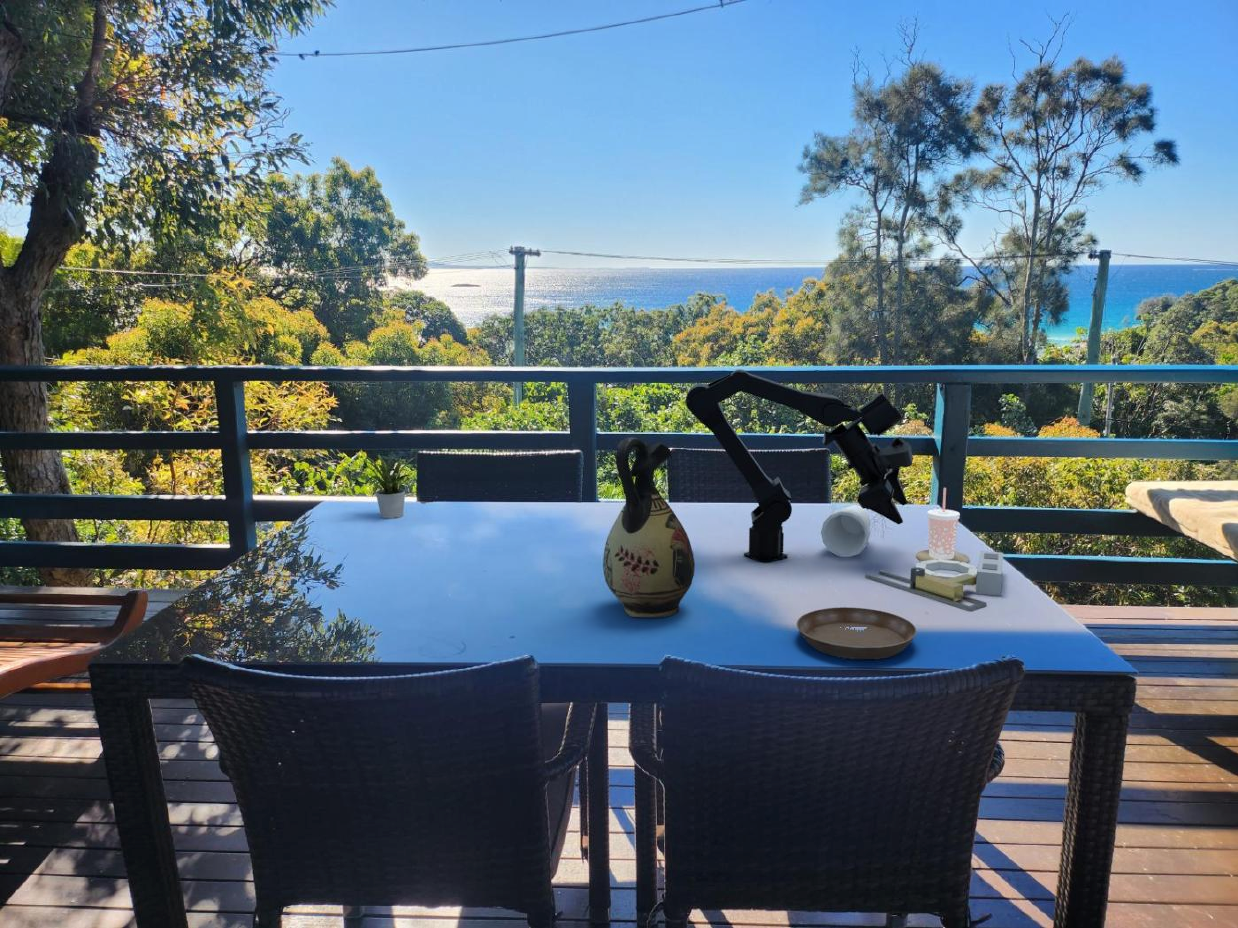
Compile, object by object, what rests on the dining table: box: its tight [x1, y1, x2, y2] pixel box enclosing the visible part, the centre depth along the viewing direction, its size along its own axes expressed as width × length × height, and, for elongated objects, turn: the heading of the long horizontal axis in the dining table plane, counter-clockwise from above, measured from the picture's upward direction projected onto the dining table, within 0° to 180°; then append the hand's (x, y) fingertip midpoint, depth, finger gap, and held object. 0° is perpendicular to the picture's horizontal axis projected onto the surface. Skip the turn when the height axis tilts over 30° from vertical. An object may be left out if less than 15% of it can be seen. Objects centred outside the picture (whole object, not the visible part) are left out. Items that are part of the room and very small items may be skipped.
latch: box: [909, 566, 977, 602], centre depth 160 cm, size 8×10×3 cm
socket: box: [915, 550, 1004, 597], centre depth 167 cm, size 15×14×4 cm
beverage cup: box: [927, 487, 961, 560], centre depth 179 cm, size 6×6×14 cm
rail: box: [864, 569, 987, 612], centre depth 161 cm, size 4×23×1 cm, turn 33°
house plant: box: [360, 452, 417, 519], centre depth 221 cm, size 14×14×16 cm
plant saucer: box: [796, 606, 918, 660], centre depth 138 cm, size 18×18×3 cm
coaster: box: [915, 549, 970, 564], centre depth 181 cm, size 10×10×1 cm
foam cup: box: [820, 504, 871, 558], centre depth 188 cm, size 10×9×13 cm
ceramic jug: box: [602, 436, 696, 618], centre depth 151 cm, size 17×15×30 cm
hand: (903, 513), depth 179 cm, fingers open, 9 cm apart
